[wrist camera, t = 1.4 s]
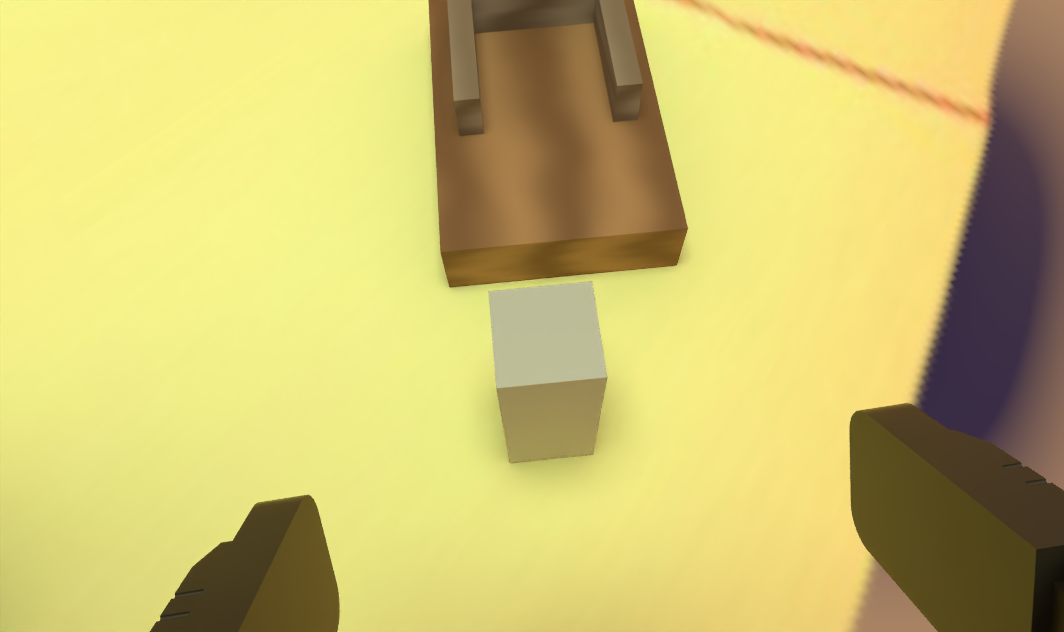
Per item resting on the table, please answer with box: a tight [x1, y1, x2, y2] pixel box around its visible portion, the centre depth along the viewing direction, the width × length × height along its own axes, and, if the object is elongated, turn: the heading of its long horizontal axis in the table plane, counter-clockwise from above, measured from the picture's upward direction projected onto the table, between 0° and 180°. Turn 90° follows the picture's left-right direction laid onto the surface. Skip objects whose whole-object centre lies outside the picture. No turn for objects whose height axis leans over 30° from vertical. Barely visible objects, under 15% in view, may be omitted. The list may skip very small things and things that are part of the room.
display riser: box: [429, 0, 688, 287], centre depth 46 cm, size 14×22×7 cm, turn 6°
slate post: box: [489, 281, 607, 463], centre depth 35 cm, size 4×4×11 cm
